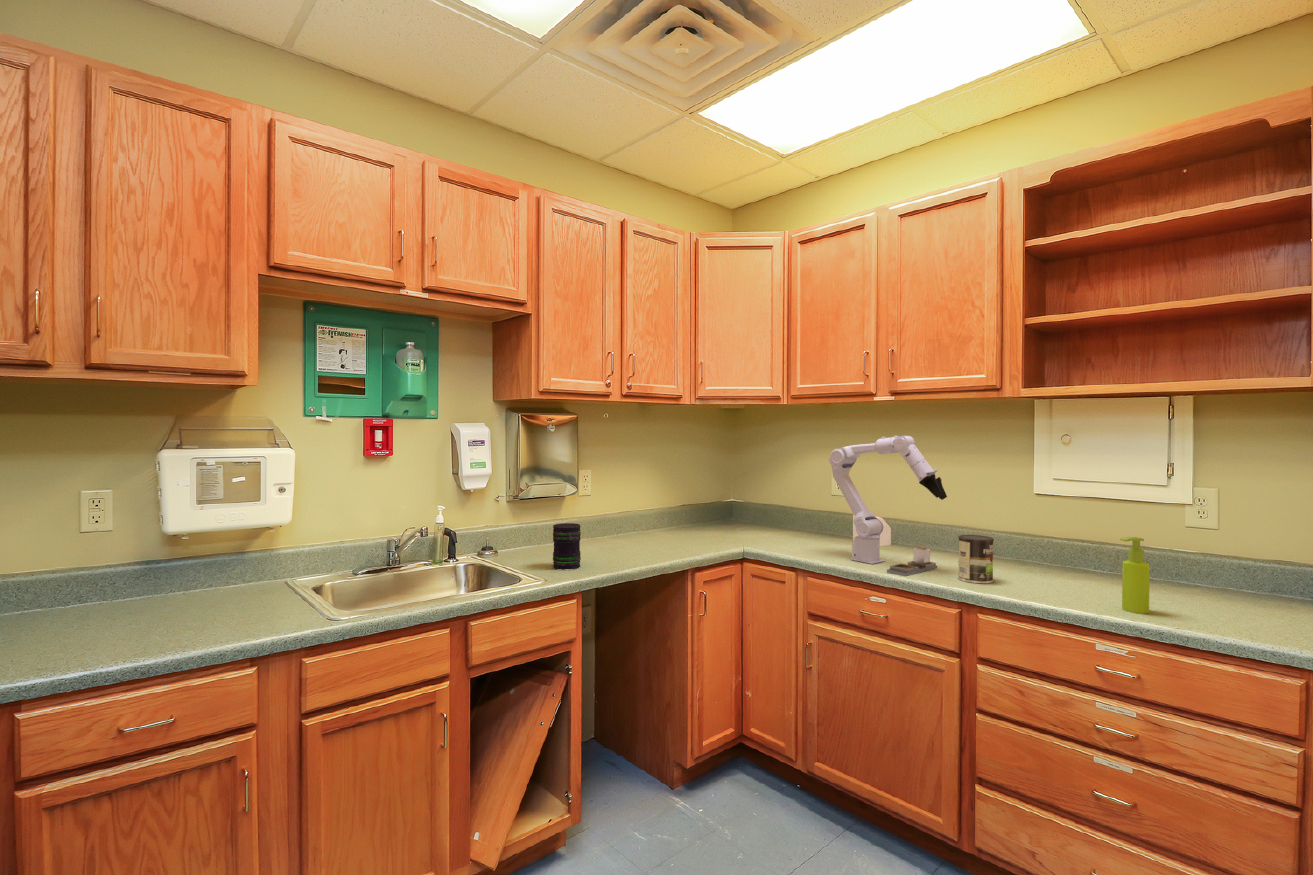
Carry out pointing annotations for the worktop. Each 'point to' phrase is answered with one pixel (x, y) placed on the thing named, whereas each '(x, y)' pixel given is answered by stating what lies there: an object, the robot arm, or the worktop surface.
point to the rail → (911, 568)
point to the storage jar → (566, 546)
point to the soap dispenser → (1135, 579)
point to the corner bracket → (884, 536)
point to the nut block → (921, 555)
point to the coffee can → (976, 559)
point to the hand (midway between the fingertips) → (942, 497)
